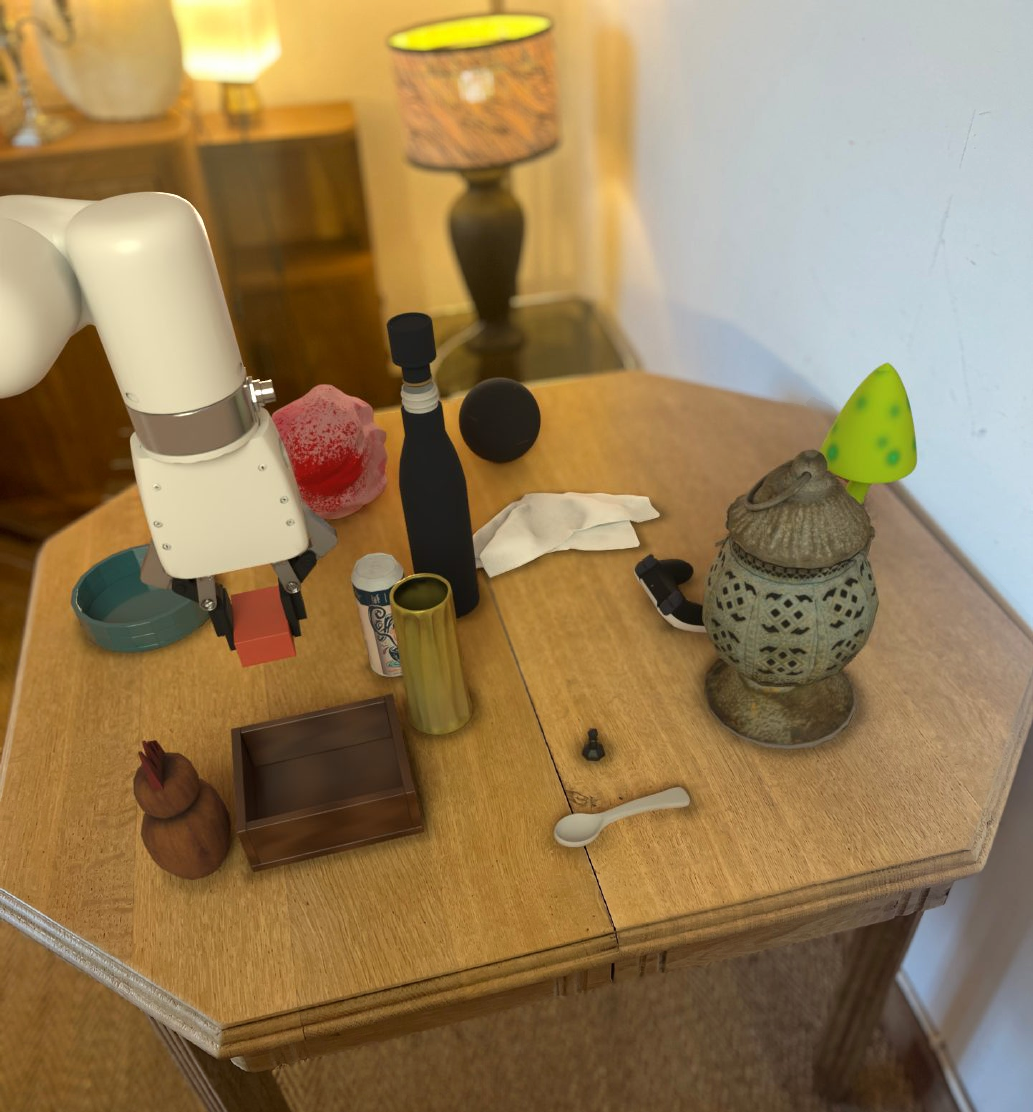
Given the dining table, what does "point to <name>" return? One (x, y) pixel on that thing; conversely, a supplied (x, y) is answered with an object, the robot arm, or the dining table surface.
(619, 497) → the cloth
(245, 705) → the dining table surface
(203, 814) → the wooden figurine
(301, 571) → the robot arm
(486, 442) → the speaker
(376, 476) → the decorative rock
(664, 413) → the dining table surface
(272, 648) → the red rectangular prism
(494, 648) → the dining table surface
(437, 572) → the black bottle
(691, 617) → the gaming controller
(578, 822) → the spoon
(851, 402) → the mushroom
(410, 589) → the vase
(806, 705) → the lantern
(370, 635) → the beer can
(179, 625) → the bowl
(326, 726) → the holder
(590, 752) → the chess pawn
